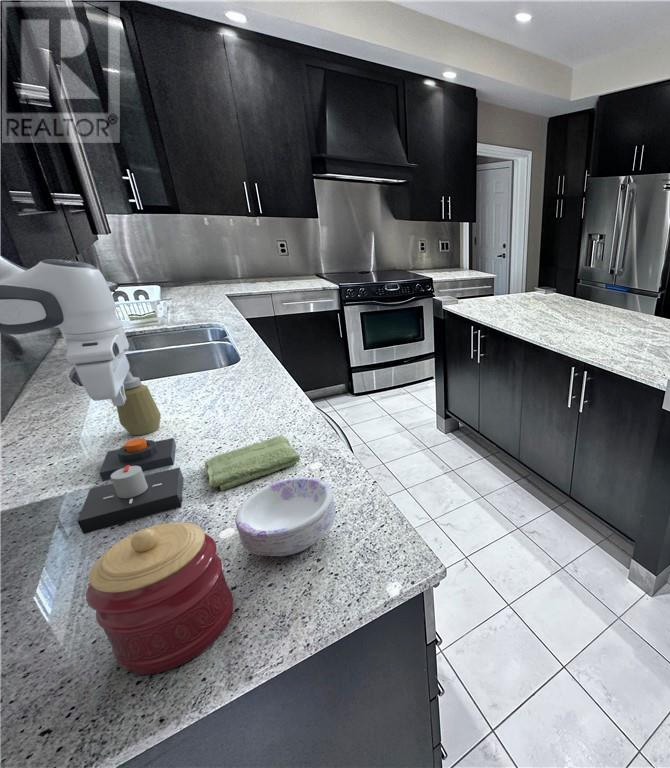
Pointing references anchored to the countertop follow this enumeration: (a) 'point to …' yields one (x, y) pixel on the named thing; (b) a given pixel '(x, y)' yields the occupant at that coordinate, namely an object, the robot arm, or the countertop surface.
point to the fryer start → (135, 445)
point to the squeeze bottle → (138, 408)
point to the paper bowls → (286, 516)
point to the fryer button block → (140, 457)
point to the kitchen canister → (160, 596)
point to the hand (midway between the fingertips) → (120, 403)
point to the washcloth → (250, 462)
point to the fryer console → (131, 502)
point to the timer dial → (129, 481)
